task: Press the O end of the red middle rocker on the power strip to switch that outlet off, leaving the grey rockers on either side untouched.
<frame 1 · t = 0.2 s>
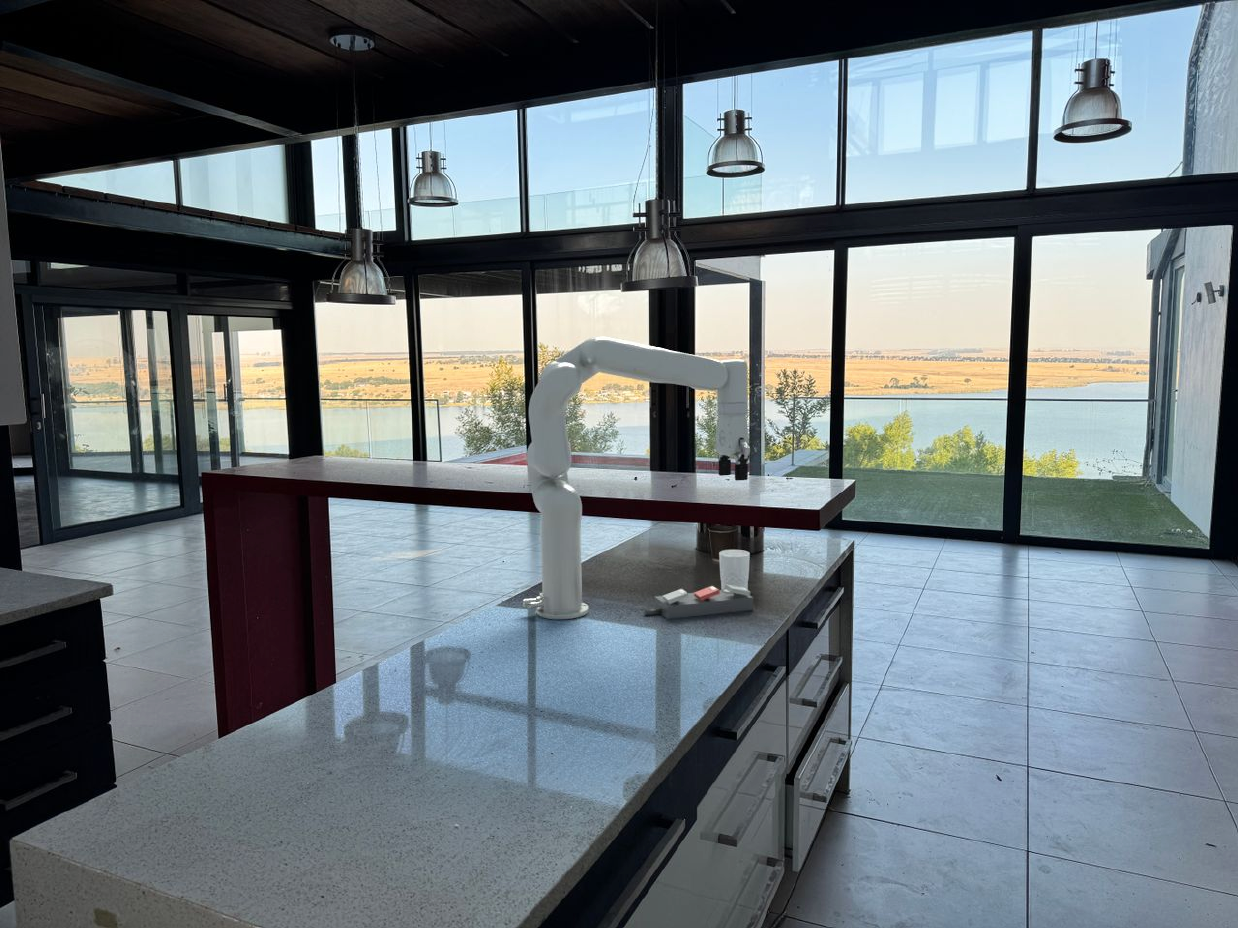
hand: (732, 477, 216), 31 cm above the counter, tool pointing down, fingers open, 9 cm apart
white cup: (734, 591, 225), on the counter
outlet 1 rocker: (675, 596, 203), point 5 cm above the counter, hinge at -15.0°
outlet 3 rocker: (737, 589, 208), point 5 cm above the counter, hinge at 15.0°
outlet 2 rocker: (706, 592, 206), point 5 cm above the counter, hinge at -15.0°
power strip: (703, 608, 208), on the counter
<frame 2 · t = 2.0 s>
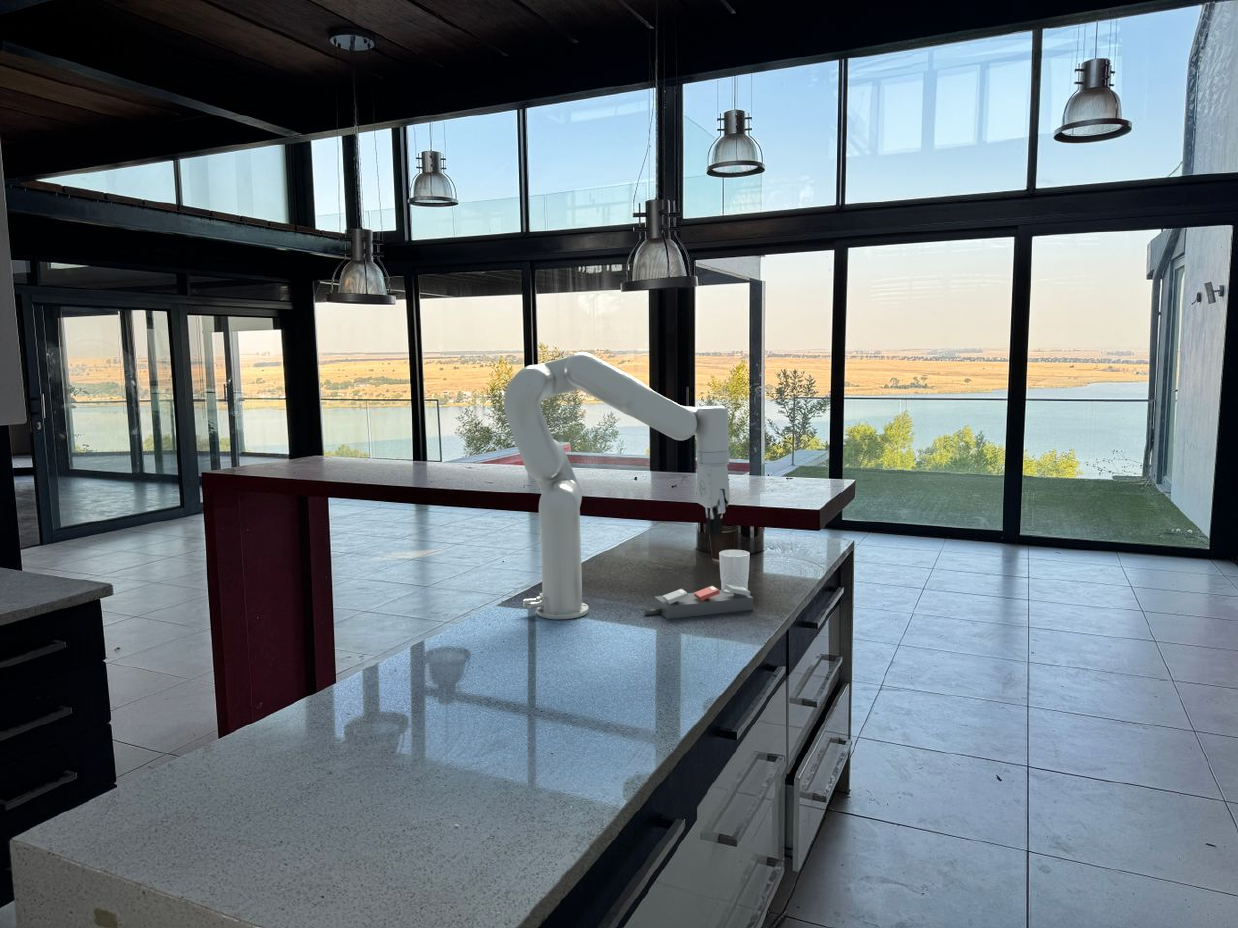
hand: (714, 534, 204), 19 cm above the counter, tool pointing down, fingers closed
nothing on the counter moved.
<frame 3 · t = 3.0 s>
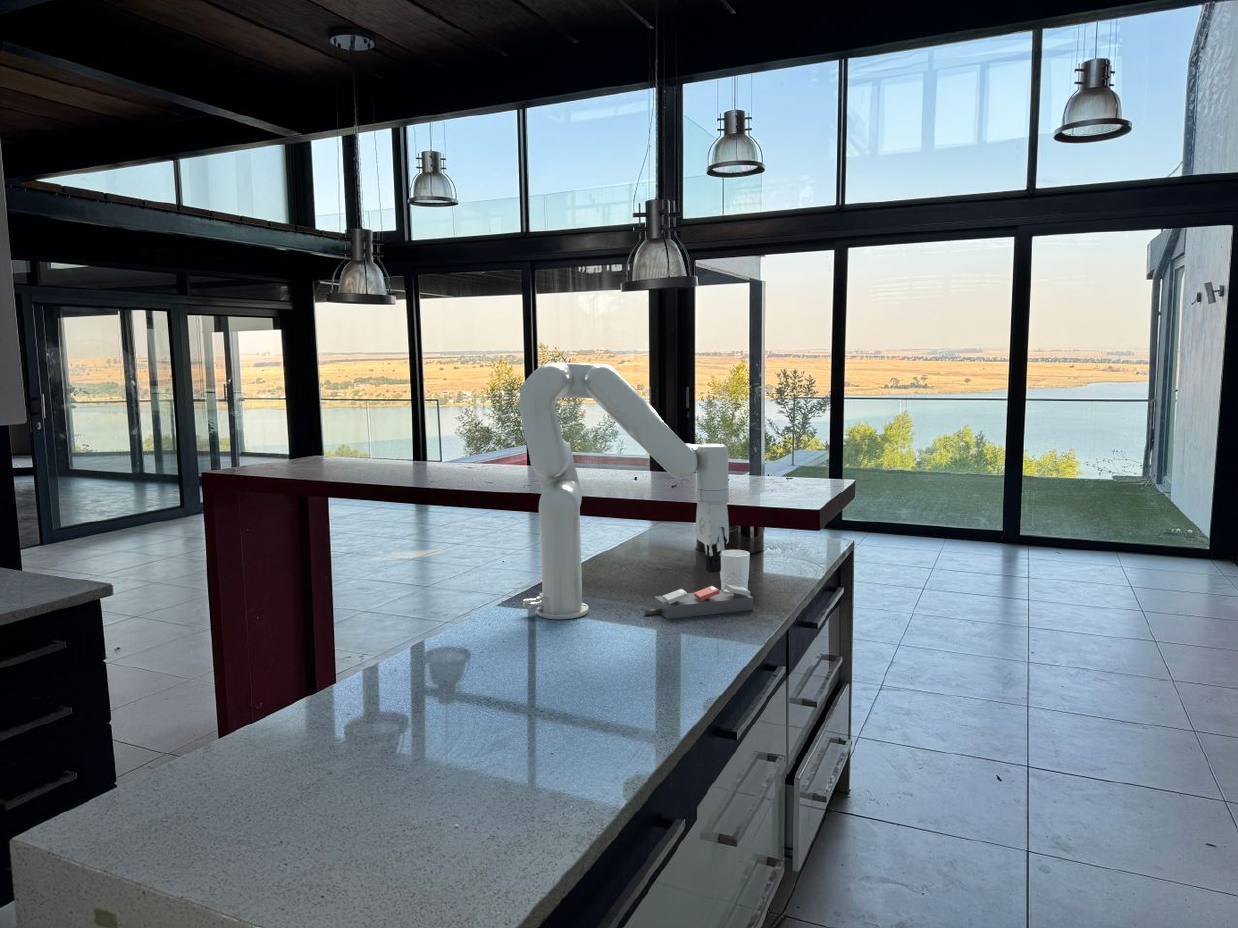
hand: (713, 571, 206), 10 cm above the counter, tool pointing down, fingers closed
nothing on the counter moved.
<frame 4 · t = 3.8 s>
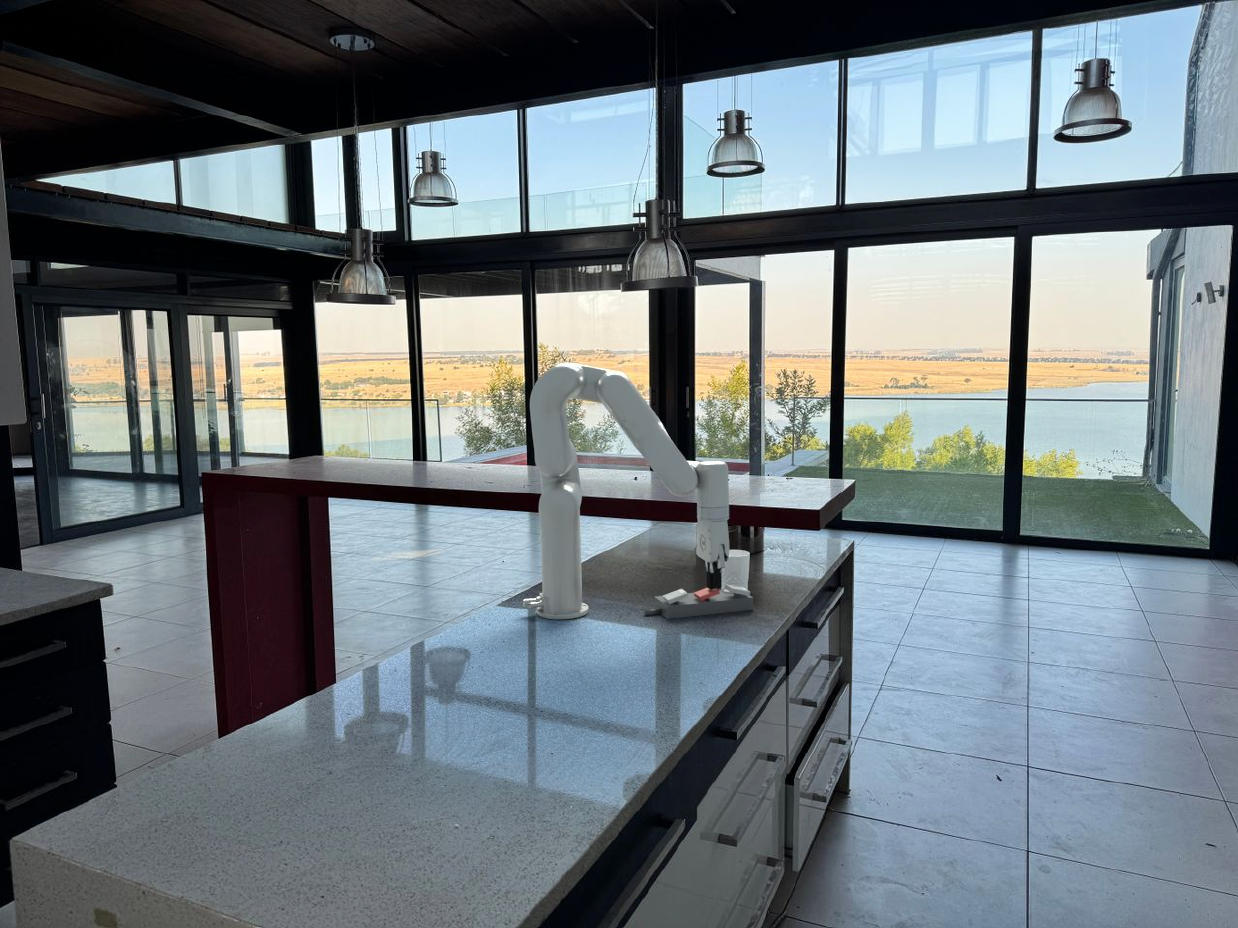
hand: (714, 587, 206), 6 cm above the counter, tool pointing down, fingers closed
outlet 2 rocker: (706, 592, 206), point 5 cm above the counter, hinge at -15.0°, touching gripper
everything else where it was.
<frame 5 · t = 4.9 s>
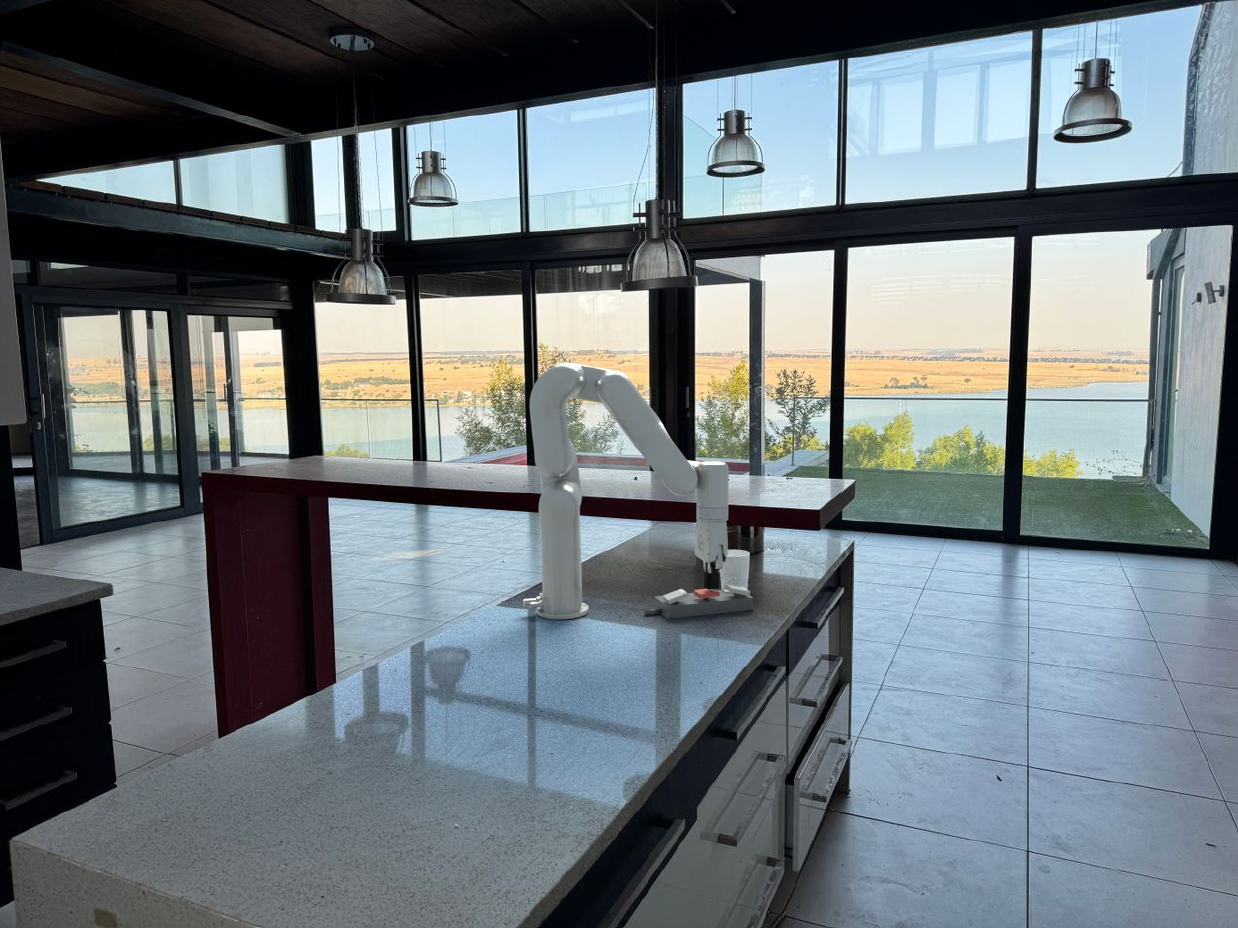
hand: (711, 588, 206), 6 cm above the counter, tool pointing down, fingers closed
outlet 2 rocker: (706, 592, 206), point 5 cm above the counter, hinge at -1.0°
everything else where it was.
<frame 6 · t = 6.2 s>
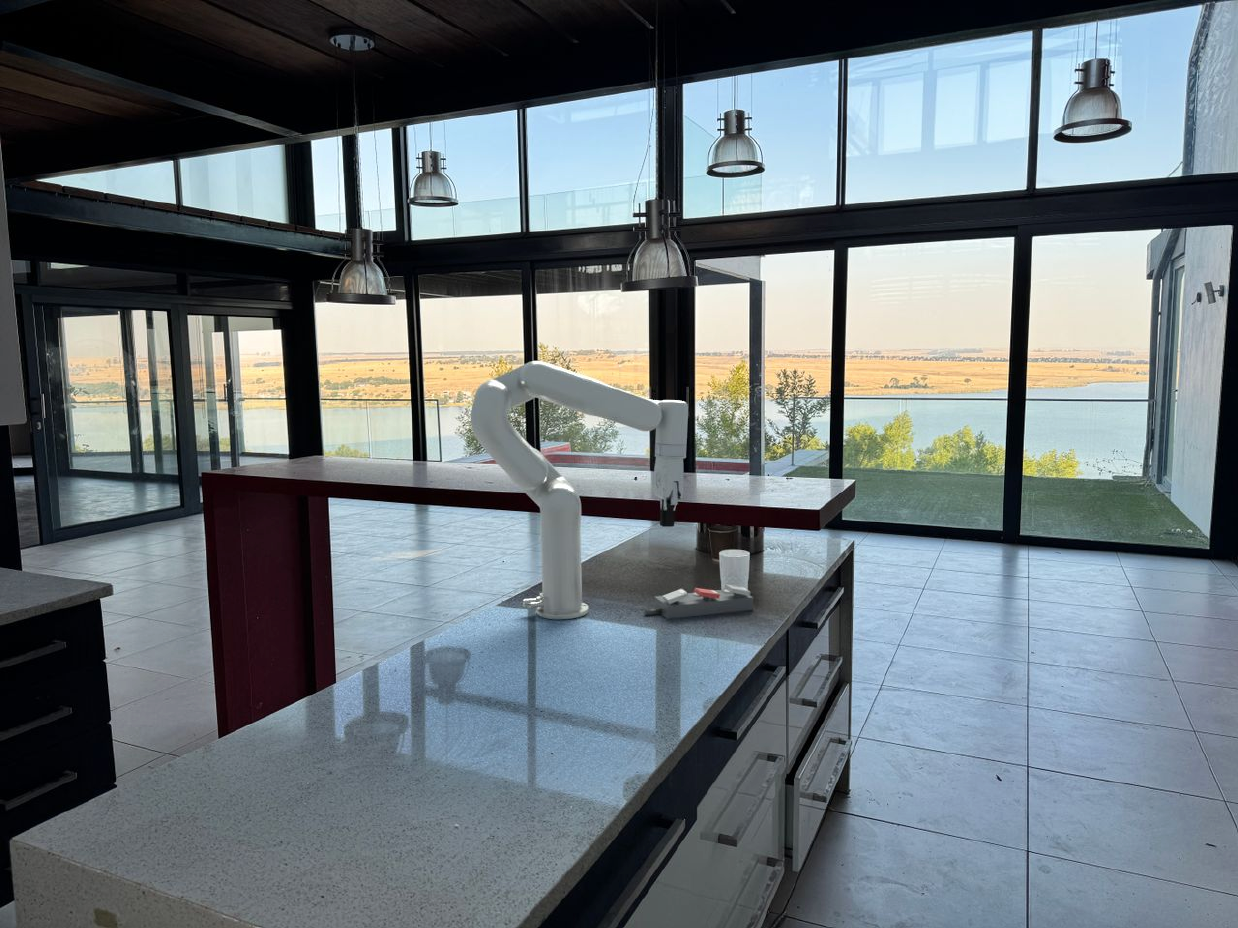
hand: (667, 525, 209), 20 cm above the counter, tool pointing down, fingers closed
outlet 2 rocker: (706, 592, 206), point 5 cm above the counter, hinge at 12.7°
everything else where it was.
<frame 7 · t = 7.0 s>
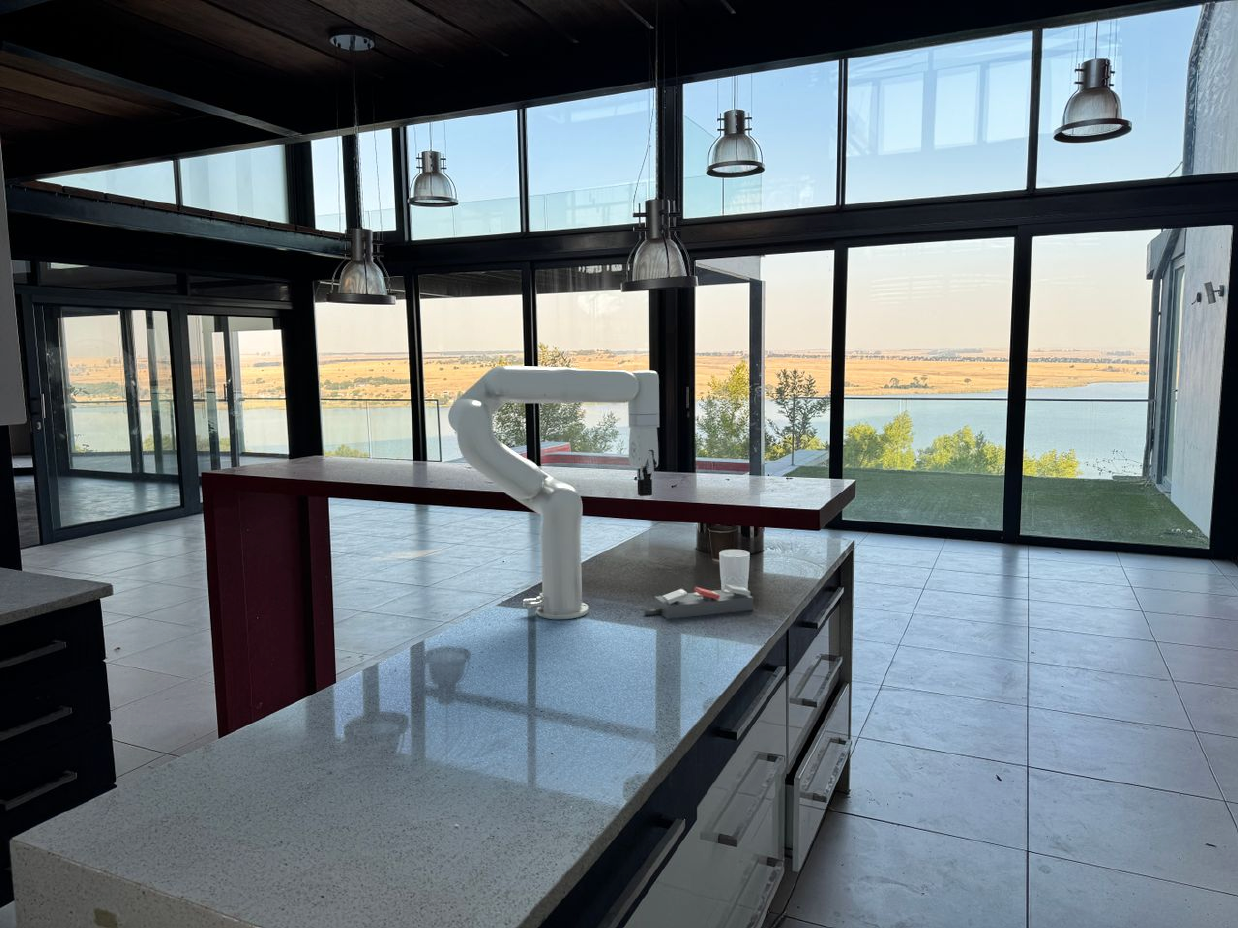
hand: (644, 495, 212), 27 cm above the counter, tool pointing down, fingers closed
outlet 2 rocker: (706, 592, 206), point 5 cm above the counter, hinge at 19.6°
everything else where it was.
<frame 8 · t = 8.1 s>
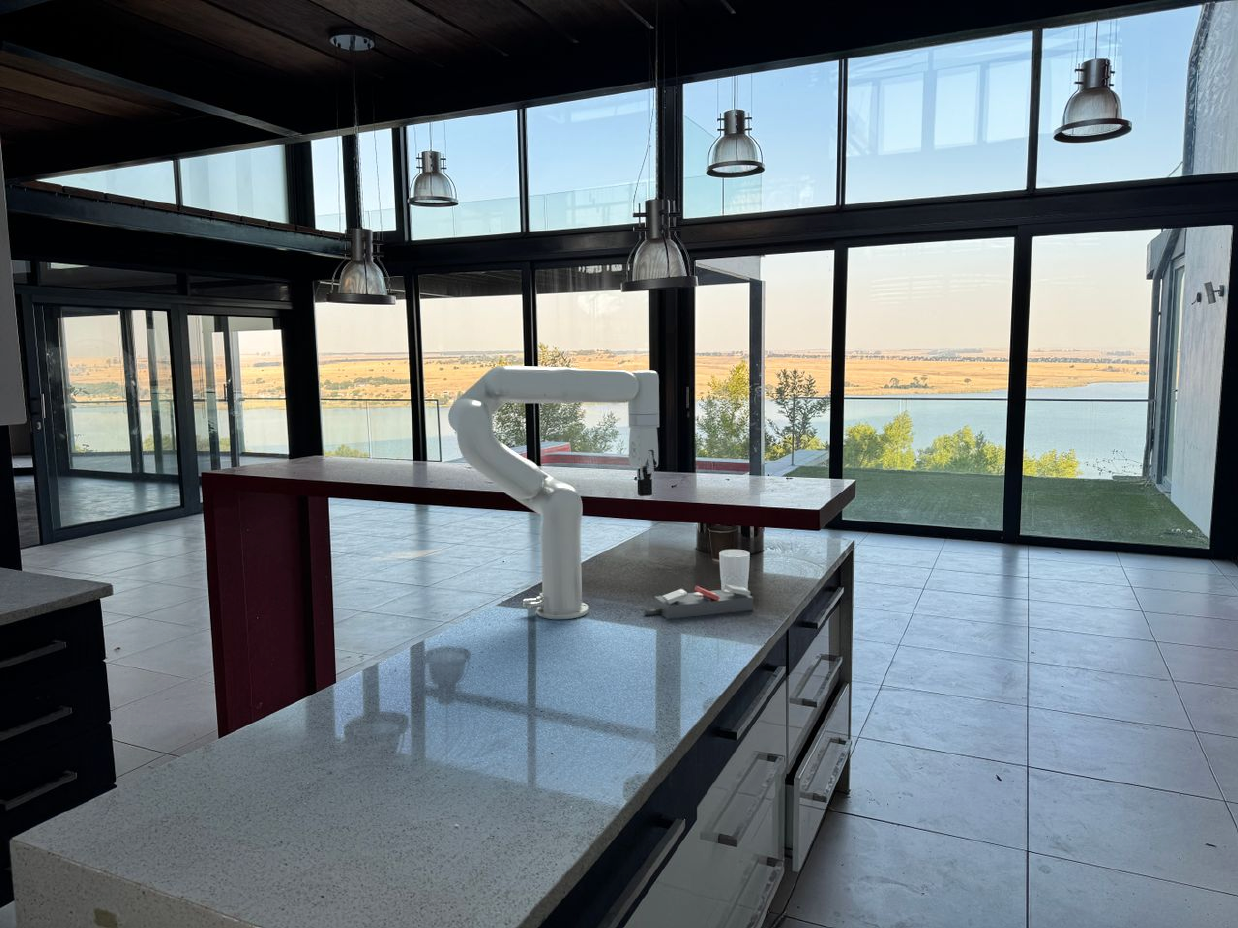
hand: (644, 495, 212), 27 cm above the counter, tool pointing down, fingers closed
outlet 2 rocker: (706, 592, 206), point 5 cm above the counter, hinge at 27.2°, touching power strip
everything else where it was.
at the end: outlet 2 rocker at +27° (first picture: -15°); outlet 1 rocker at -15° (first picture: -15°); outlet 3 rocker at +15° (first picture: +15°) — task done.
